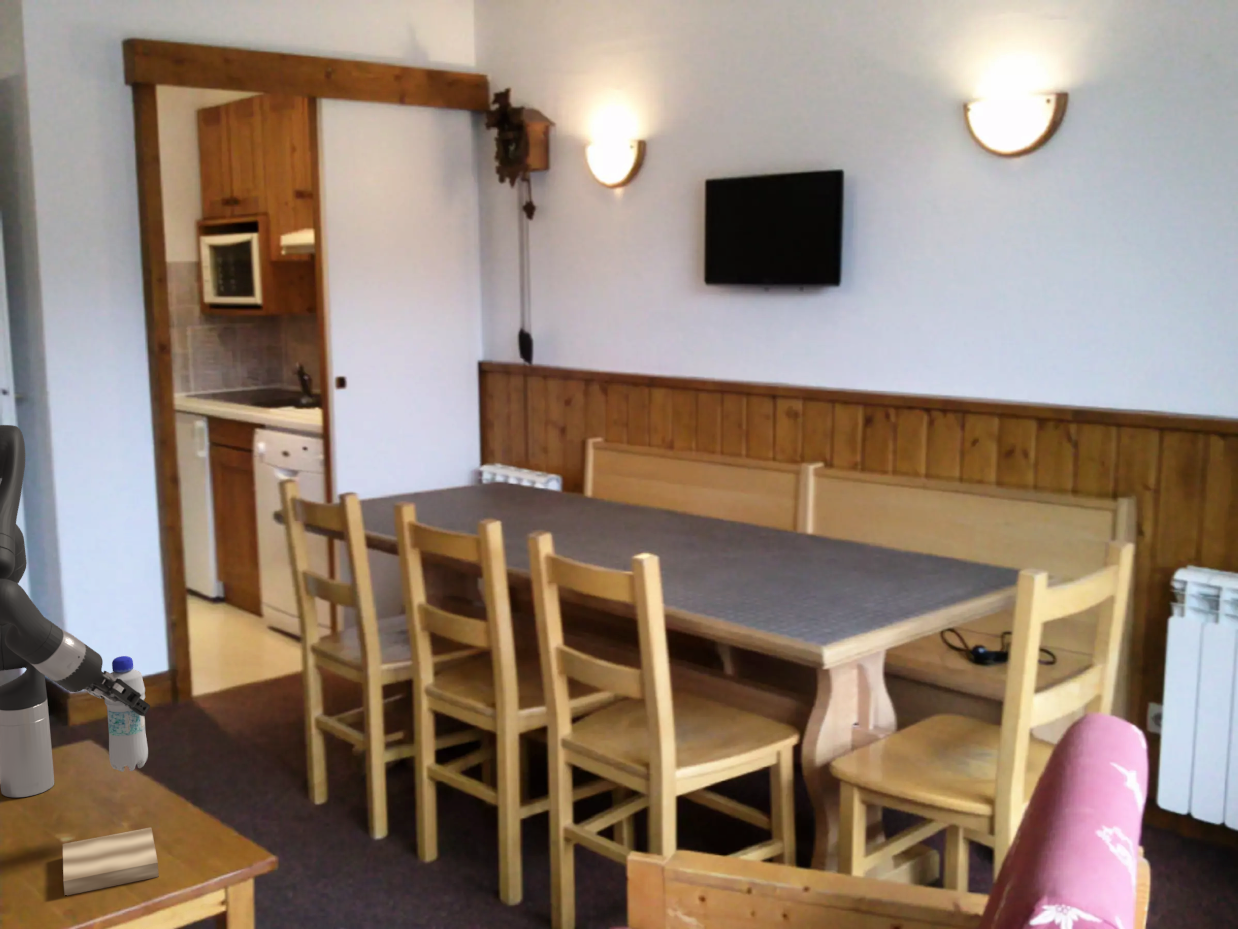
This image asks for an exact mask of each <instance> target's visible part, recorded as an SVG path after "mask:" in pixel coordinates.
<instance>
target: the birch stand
mask: <svg viewBox="0 0 1238 929" xmlns="http://www.w3.org/2000/svg"><path fill="white" fill-rule="evenodd" d="M154 840H155V839H154V833H153V830H152V827H146V828H141V829H136V830H129V831H125V832H120V833H114V834H109V835H103V836H98V837H92V838H88V839H80V840H78V841H77V840H75V841H71V842H66V843H62V870H63V871H62V872H63V874H62V876H63V892H64V896H65V895H67V896H70V895H76V894H80V893H85V892H91V891H95V890H100V889H105V888H110V887H114V886H120V885H121V886H122V885H125V884H130V883H135V882H139V881H144V880H149V879H155V878H159V876H160V874H159V862H158V856H157V850H156V846H155V841H154Z"/></svg>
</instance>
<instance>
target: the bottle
mask: <svg viewBox="0 0 1238 929" xmlns="http://www.w3.org/2000/svg"><path fill="white" fill-rule="evenodd" d="M132 658H133V657H130V656H127V655H125V656H124V655H121V656H118V657H116V658H114V659H113V660H112V662H111V668H112V671H111V672H109V673H110V674H112V675H113V677H114V678H116V679H117V678H118V679H121V680H122V681H123V682H124V683H126V684H127V685H129V686H130V687H131V688H133V689H134V690H135V691H137V692H139V693H140V694H141V697H140V698H141V699H142V700H143V701H145V698H146V694H145V692H146V687H145V683H144V681H143V679H144V678H143V673H142V672H141V671H140V670H137V669H134V660H133V659H132ZM110 696H111V697H114V695H112V694H111V695H110ZM104 698H105V697H104ZM103 701H104V704H105V706H106V710H107V712H106V713H107V723H108V724H107V725H108V726H107V727H108V752H109V753H108V755H109V763H110V766H111V768H112V769H113V770H118V771H119V772H124V771H125V767H128V768H129V769H128V770H129V771H130V772H133V771H134V770H135V768H136V766H137V768H138V769H141V768H143V767H144V766H145V763H146V762H147V761H148V759H149V758H148V757H149V747H148V741H147V740H148V739H147V735H146V733H147V732H146V719H145V716H141V715H139V714H137V713H136V712H134V711H133V710H131V709H130V708H129V707H125V705H123V704H121V703H120V702H118V701H117V702H112V701H110V700H108V699H106V698H105V700H103Z"/></svg>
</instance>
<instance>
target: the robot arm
mask: <svg viewBox="0 0 1238 929" xmlns="http://www.w3.org/2000/svg"><path fill="white" fill-rule="evenodd" d="M25 468H26V445H25V438H24V435H23V432H22V431H21V429H20V428H19V427H18V426H17V425H12V424H0V479H1V481H0V672H4V671H10V670H18V669H25V671H24V672H23V673H22V674H20V675H19V676H18V677H16V678H15V679H13V680H10V681H8V682H6V683H4V684H2V685H1V686H0V792H1V795H3V796H5V797H6V798H7V797H8V798H25V797H31V796H35V795H39V794H42V793H44V792H46V791H49V790H50V789H52V788H53V786H54V785H55V776H54V773H55V772H54V761H53V751H52V739H51V738H52V737H51V726H50V716H49V706H48V693H47V687H46V678H48V679H50V680H51V681H53V682H54V683H56V684H57V685H59V686H60V687H62V688H63V689H65V690H66V691H67V692H70V693H79V692H82V691H86V692H87V693H88V694H89V695H91V696H94V697H96V698H98V699H102V700H103V701H105V698H106V699H108V700H110V701H112V702H117V701H118V702H120V703H121V704H123V705H125V707H129V708H130V709H131V710H133V711H134V712H136V713H137V714H139V715H141V716H144V717H145V716H146V714H147V713H148V711H149V710H150V708H151V705H150V704H149V703H148V702H146V701H145V700H144V701H143V700H142V699H141V698H140V697H141V694H140V693H139V692H137V691H135V690H134V689H133V688H131V687H130V686H129V685H127V684H126V683H124V682H123V681H122V680H121V679H118V678H117V679H116V678H114V677H113V675H112V674H110V673H111V672H109V671H107V670H103V671H102V669H103V665H104V664H103V657H102V655H101V654H100V653H98V652H97V651H95V650H94V649H92V648H91V647H90V646H88V645H87V644H86V643H84V642H83V641H81V640H80V639H79V638H77V637H76V636H74V635H73V634H72V633H70V632H68V631H66V630H64V629H62V628H60V627H59V626H58V625H56V624H55V623H54V622H52V621H51V620H50V619H48V618H46V617H45V616H44V615H43V614H42V612H41V611H40V610H39V608H38V607H37V606H36V605H35V603H34V602H33V601H32V599H31V598H30V597H29V595H28V594H27V592H26V591H25V589H24V588H23V587H22V586H21V585H20V584H19V583H20V581H21V579H22V578H23V576H24V574H25V571H26V569H27V565H28V564H27V553H26V544H25V536H24V533H23V531H22V530H21V528H20V526H18V524H17V518H18V514H19V507H20V503H21V497H22V496H21V495H22V490H23V489H22V488H23V482H24V477H25V476H24V475H25ZM111 694H112V695H114V697H111V696H110V695H111ZM104 697H105V698H104Z"/></svg>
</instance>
